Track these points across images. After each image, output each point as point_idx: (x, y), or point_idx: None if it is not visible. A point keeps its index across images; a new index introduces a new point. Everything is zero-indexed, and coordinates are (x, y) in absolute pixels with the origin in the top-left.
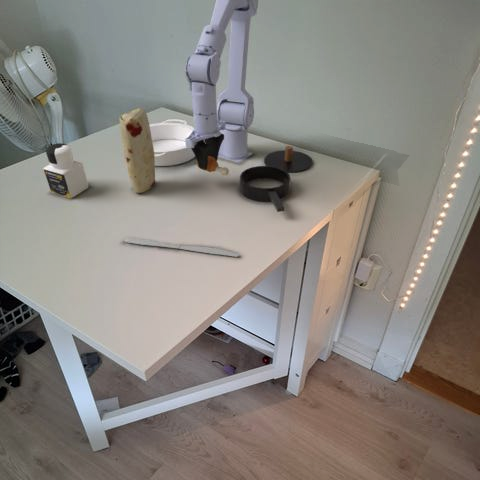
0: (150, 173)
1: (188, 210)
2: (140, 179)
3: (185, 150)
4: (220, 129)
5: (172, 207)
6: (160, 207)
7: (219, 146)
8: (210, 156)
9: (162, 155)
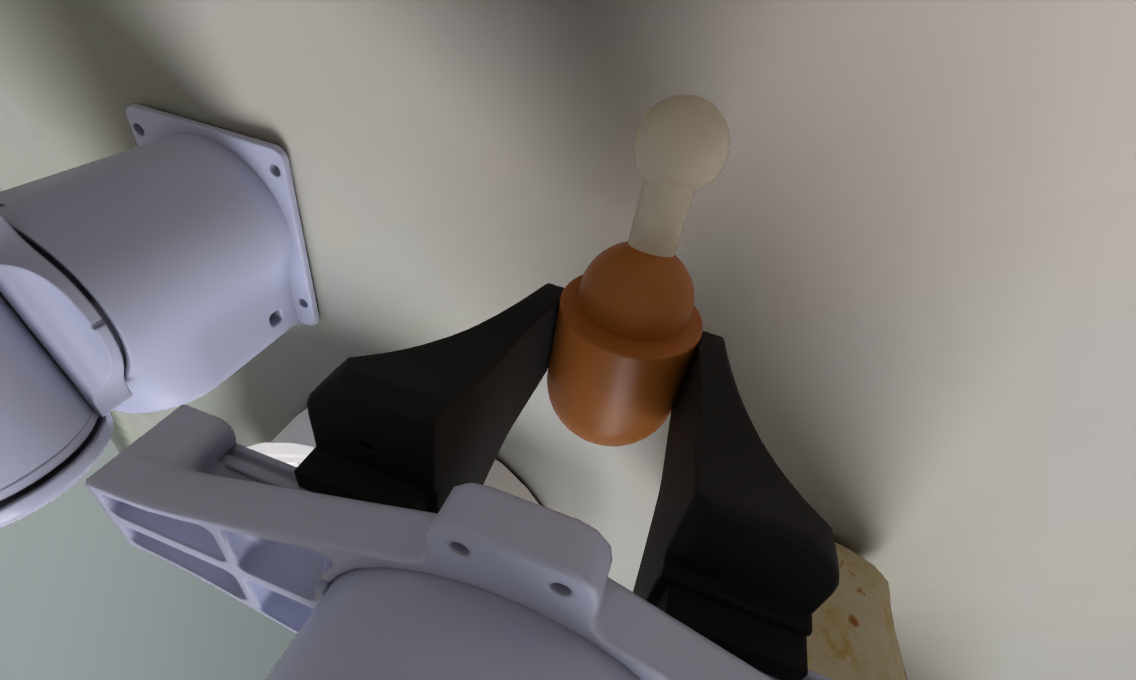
0: None
1: (1108, 279)
2: (888, 637)
3: None
4: (297, 496)
5: (1041, 391)
6: (1039, 454)
7: (461, 347)
8: (585, 366)
9: None
